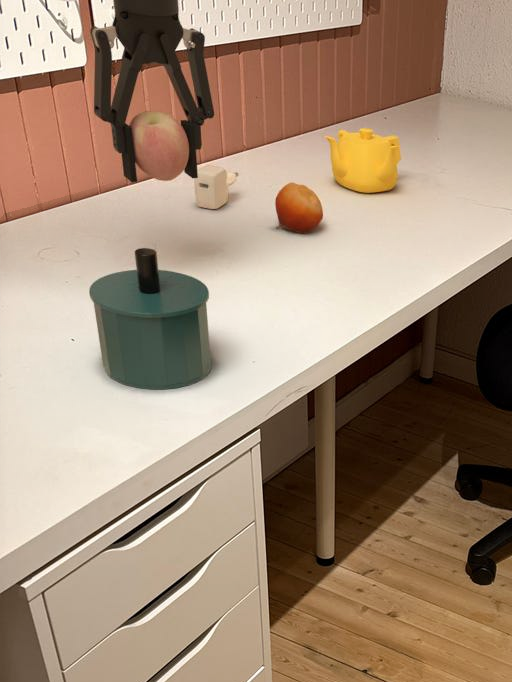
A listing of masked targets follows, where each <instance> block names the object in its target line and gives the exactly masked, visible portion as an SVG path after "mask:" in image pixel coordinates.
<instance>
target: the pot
mask: <svg viewBox="0 0 512 682" xmlns="http://www.w3.org/2000/svg"><path fill="white" fill-rule="evenodd" d="M93 309H94V314H95V321H96V327H97V333H98V340H99V347H100V354H101V360H102V361H101V362H102V366H103V368H104V371H105V373H106V374H107V376H108V377H109V378H111V379H112V380H113V381H115V382H116V383H119V384H122V385H125V386H128V387H132V388H137V389H144V390H172V389H179V388H183V387H187V386H191V385H193V384H196V383H198V382H200V381H202V380H203V379H205V378H206V377H207V375H209V373H210V371H211V369H212V361H211V360H212V359H211V347H210V334H209V319H208V308H207V302H206V303H205V304H204V305H203V306H202V307H200V308H199V309H197V310H194V311H192V312H189V313H186V314H181V315H176V316H170V317H157V318H146V317H133V316H126V315H121V314H117V313H113V312H110V311H107V310H105V309H103V308H101V307H99V306H97V305H96V304H95V303H94V302H93Z"/></svg>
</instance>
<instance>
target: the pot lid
mask: <svg viewBox="0 0 512 682" xmlns="http://www.w3.org/2000/svg"><path fill="white" fill-rule="evenodd" d="M157 253H158V252H157V250H156V249H153V248H148V247H141V248H137V249H135V250H134V259H135V269H129V270H122V271H118V272H117V271H116V272H113V273H109V274H107V275H104V276H102V277H99V278H98V279H97V280H95V281H94V282H92V284H91V285H90V286H89V291H88V293H89V298H90V300H91V301H92V303H93V304H94V303H95V304H96V305H97V306H99V307H101V308H103V309H105V310H107V311H110V312H113V313H117V314H121V315H126V316H133V317H146V318H157V317H170V316H176V315H181V314H186V313H189V312H192V311H194V310H197V309H199V308H200V307H202V306H203V305H204V304H205V303H206V304H207V303H208V301H209V299H210V292H209V291H210V290H209V288H208V286H207V285H206V284H205V283H204V282H202V281H201V280H199V279H198V278H196V277H194V276H192V275H188V274H186V273H181V272H177V271H172V270H165V269H159V262H158V254H157Z"/></svg>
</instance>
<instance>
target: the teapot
mask: <svg viewBox="0 0 512 682" xmlns="http://www.w3.org/2000/svg"><path fill="white" fill-rule="evenodd" d="M323 137H324V138H325V139H326V140H327V142H328V143H329V147H330V164H331V172H332V175H333V177H334V179H335V181H336V182H337V183H338V184H339V185H341V186H343V187H345V188H346V189H349V190H352V191H355V192H360V193H368V194H369V193H380V192H386V191H390V190H392V189H393V188H394V187H395V186H396V184H397V182H398V180H399V179H398V178H399V177H398V176H399V173H398V164H399V163H400V161H402V154H401V146H400V137H398V136H396V135H388V136H385V137H383V136H381V135H378V134H375V133H374V130H373V129H371V128H367V127H361V128H359V132H358V131H357V132H349V131H347V130H345V129H340V130H339V131H337V140H336V139H335V138H334V137H331V136H326V135H324V136H323ZM337 141H338V142H337Z"/></svg>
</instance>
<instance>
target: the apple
mask: <svg viewBox="0 0 512 682" xmlns="http://www.w3.org/2000/svg"><path fill="white" fill-rule="evenodd" d="M128 125H129V126H130V127H131V128H132V135H133V145H134V155H135V165H136V166H137V167H138V168H139V170H141V172H143V173H145V174H146V175H147V176H149V177H150V178H152V179H154V180H157V181H163V182H169V181H172V180H174V179H176V178H177V177H179V176H180V175H181V174H182V173H184V169H185V167H186V165H187V162H188V157H189V143H188V139H187V135H186V133H185V131H184V129H183V127H182V126H181V122H179V121H178V120H177V119H176V118H175V117H174V116H172V115H171V114H168V113H167V112H163V111H159V110H147V111H142V112H140V113H137V114H136V115H135V116H134V117H132V119H131V120H130V122H129V124H128Z"/></svg>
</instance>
